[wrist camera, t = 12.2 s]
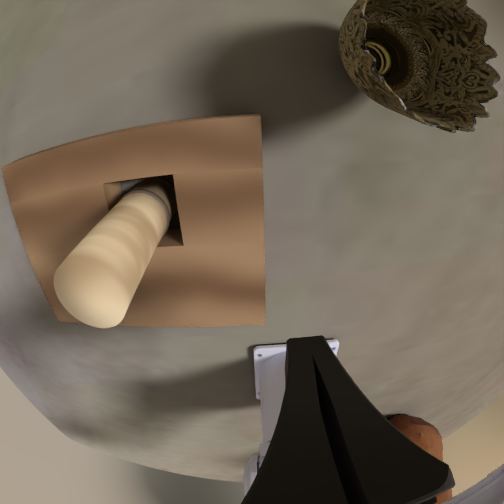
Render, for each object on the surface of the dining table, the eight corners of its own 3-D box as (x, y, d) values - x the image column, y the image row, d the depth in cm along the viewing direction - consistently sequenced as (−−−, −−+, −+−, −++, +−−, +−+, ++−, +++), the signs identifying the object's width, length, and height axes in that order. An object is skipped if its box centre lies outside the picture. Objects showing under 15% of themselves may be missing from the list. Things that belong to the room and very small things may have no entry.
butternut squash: (344, 439, 40) (366, 556, 19) (387, 403, 34) (426, 545, 12) (399, 432, 43) (426, 530, 21) (442, 396, 36) (483, 508, 14)
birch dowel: (180, 223, 19) (136, 333, 10) (134, 224, 19) (68, 325, 10) (177, 175, 17) (115, 259, 8) (128, 178, 17) (41, 257, 8)
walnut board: (263, 302, 22) (265, 324, 20) (69, 303, 22) (59, 321, 20) (258, 113, 15) (260, 115, 13) (21, 157, 15) (1, 167, 13)
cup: (303, 97, 15) (351, 98, 8) (318, -5, 11) (368, -59, 4) (407, 127, 15) (489, 155, 9) (421, 34, 12) (502, 23, 5)
